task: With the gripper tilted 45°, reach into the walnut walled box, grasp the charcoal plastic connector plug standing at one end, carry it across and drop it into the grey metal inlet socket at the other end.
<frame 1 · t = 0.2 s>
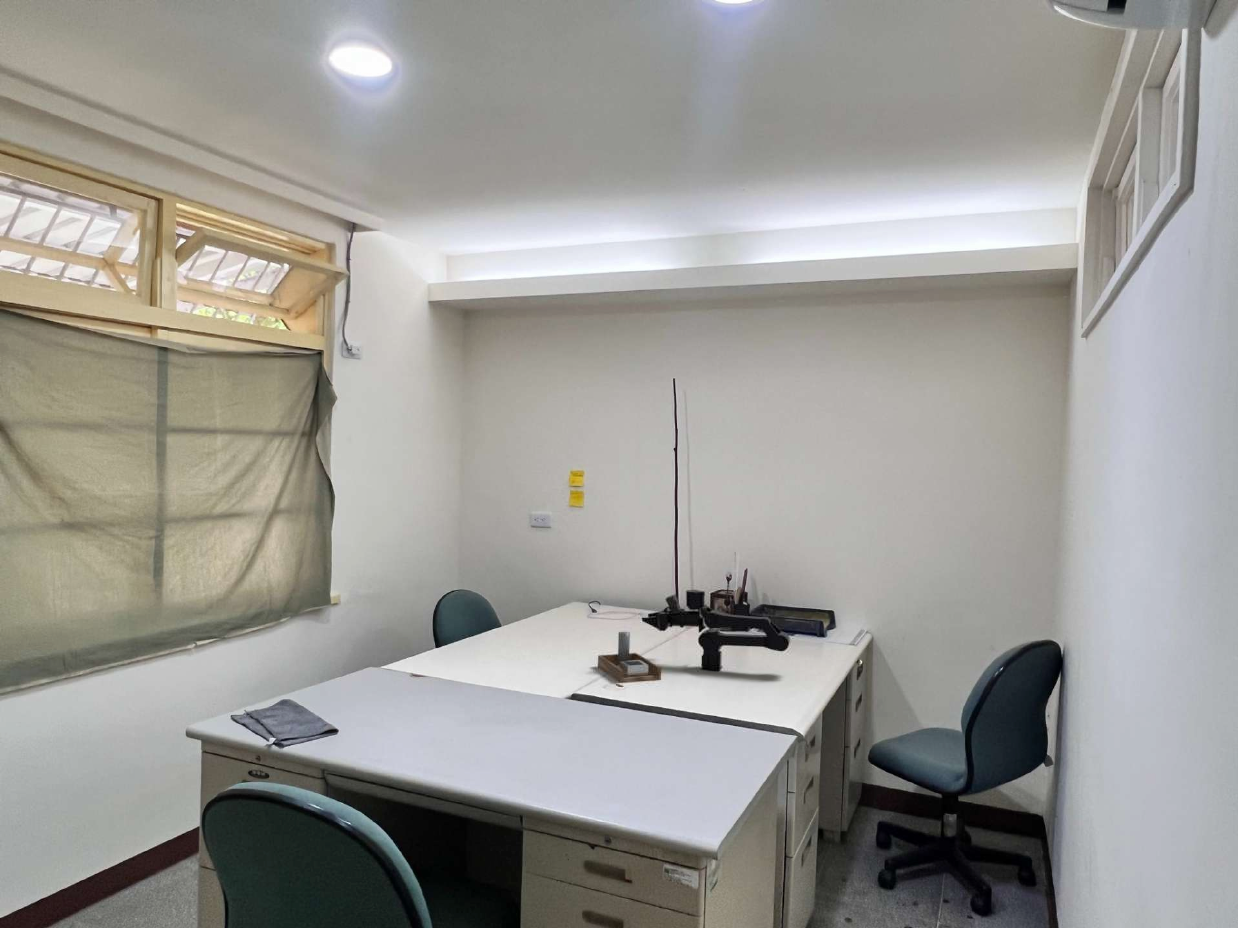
hand: (645, 617, 306), 16 cm above the table, fingers open, 9 cm apart
connector: (623, 669, 292), resting on box
box: (628, 674, 287), on the table
inlet: (633, 676, 283), resting on box
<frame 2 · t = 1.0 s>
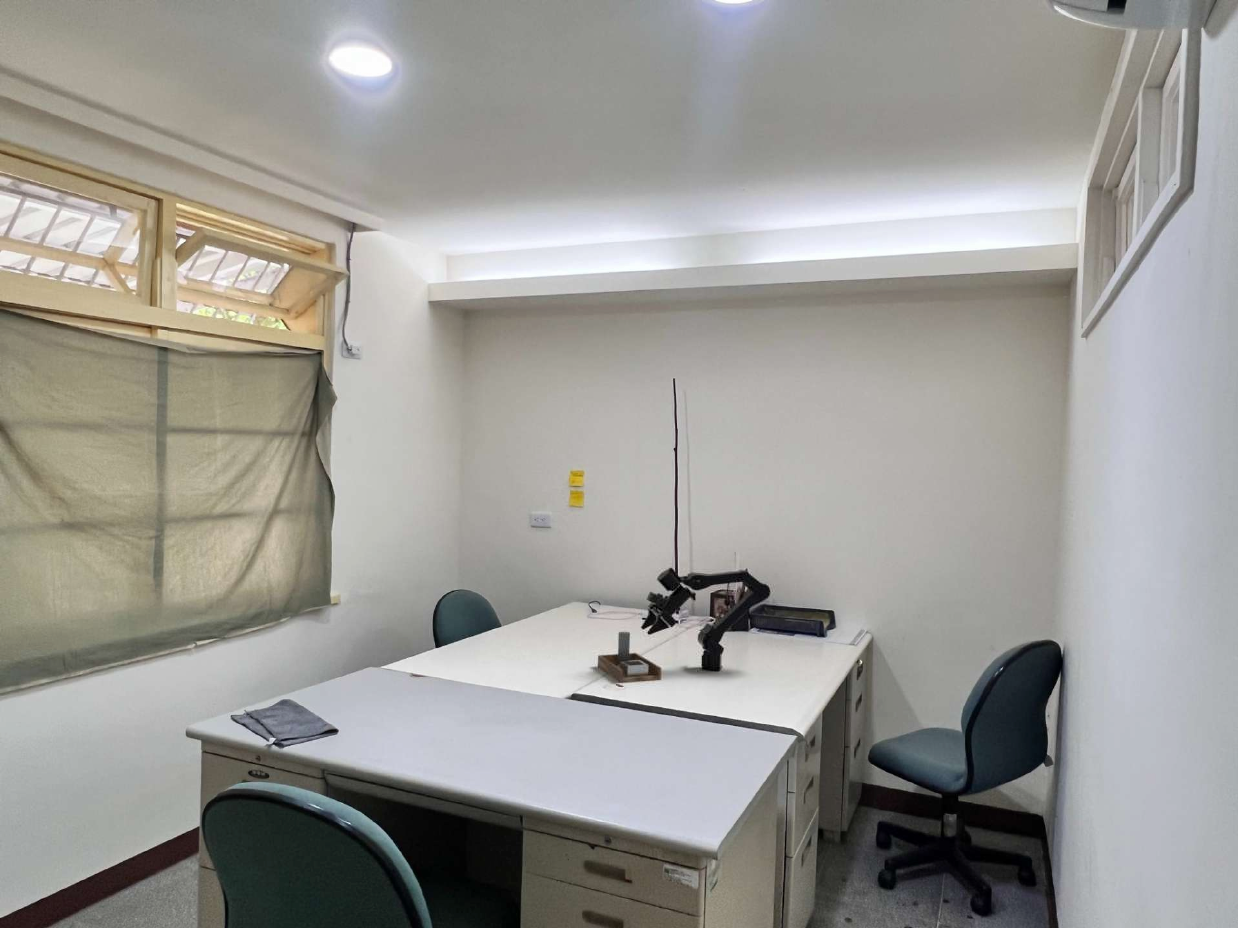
hand: (644, 631, 294), 14 cm above the table, fingers open, 9 cm apart
nothing on the table moved.
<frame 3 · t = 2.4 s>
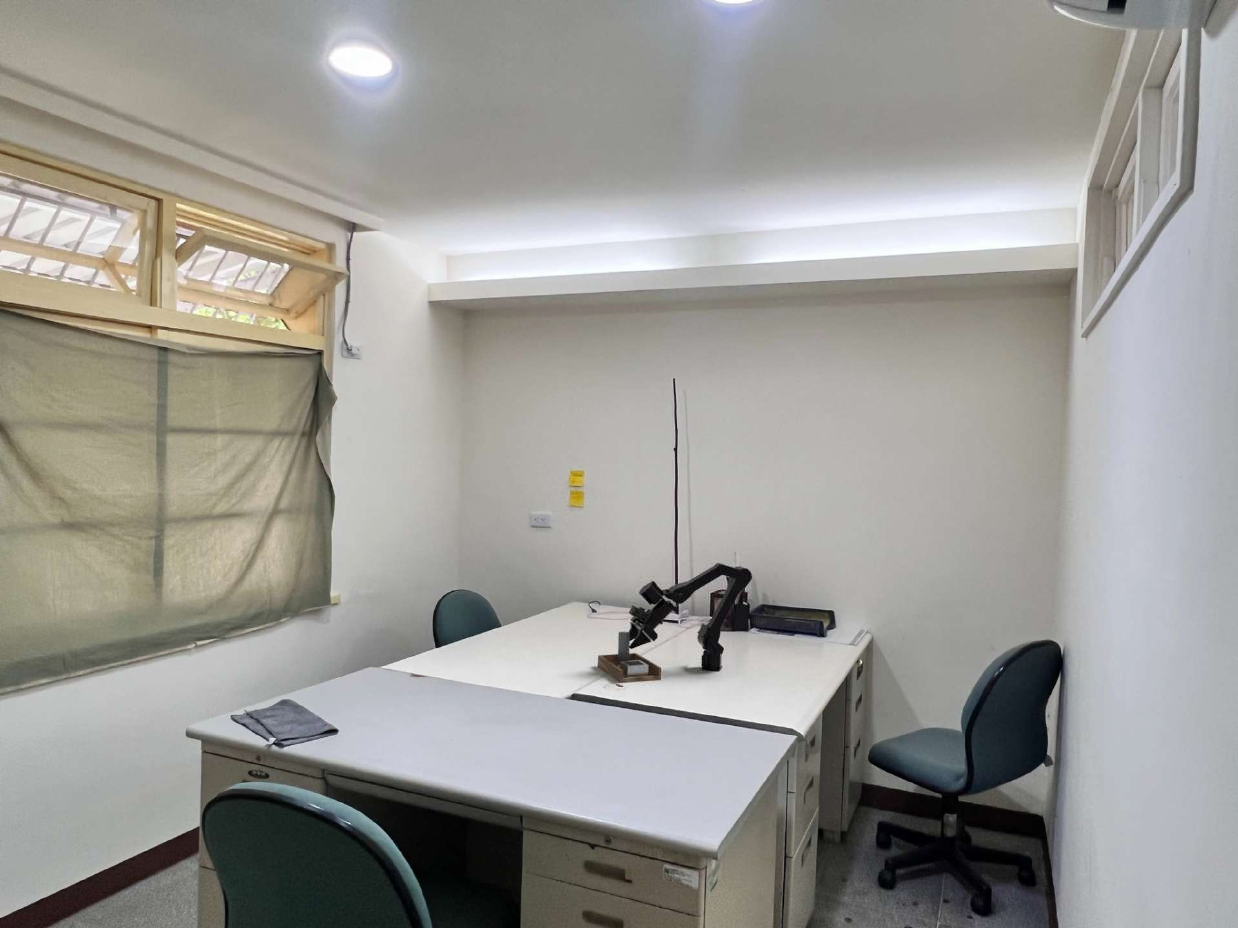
hand: (627, 645, 292), 9 cm above the table, fingers open, 9 cm apart
nothing on the table moved.
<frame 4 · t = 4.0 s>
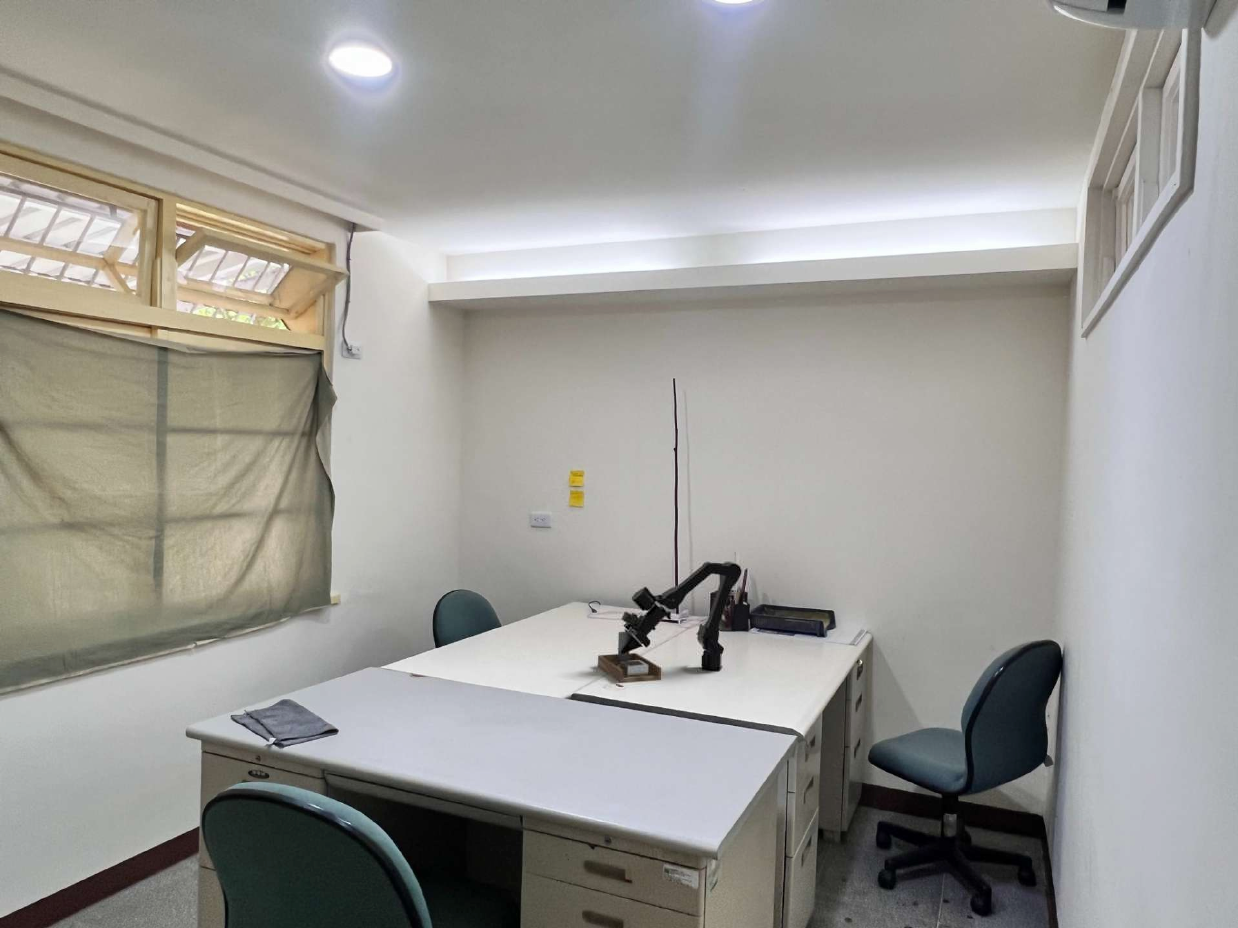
hand: (619, 651, 292), 7 cm above the table, fingers closed on connector, 4 cm apart
connector: (623, 669, 292), resting on box, touching gripper
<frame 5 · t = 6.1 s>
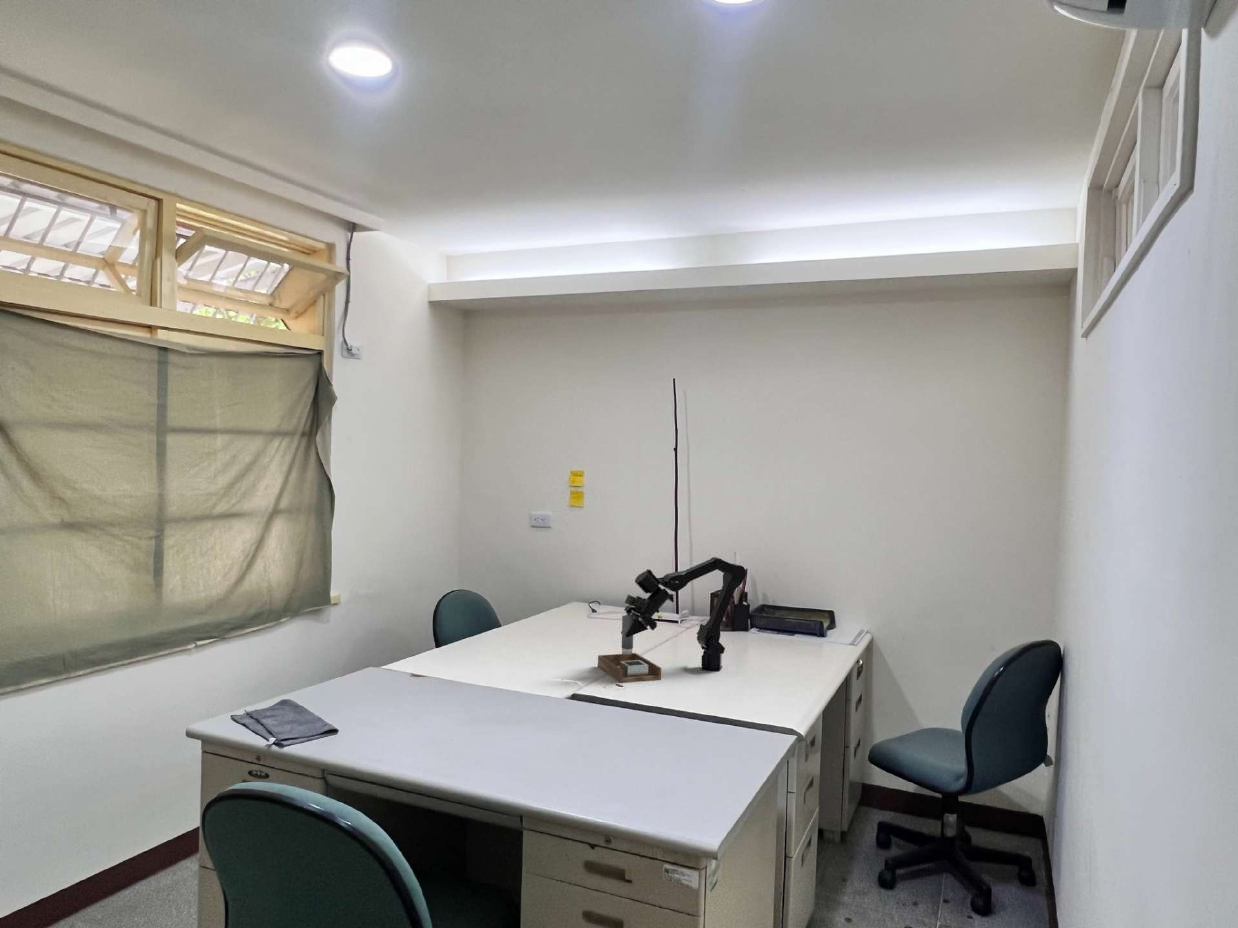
hand: (623, 635, 287), 14 cm above the table, fingers closed on connector, 4 cm apart
connector: (627, 653, 288), point 7 cm above the table, touching gripper
when the fingers open (8 cm above the table, at t = 8.4 s): connector stays where it is, resting on box.
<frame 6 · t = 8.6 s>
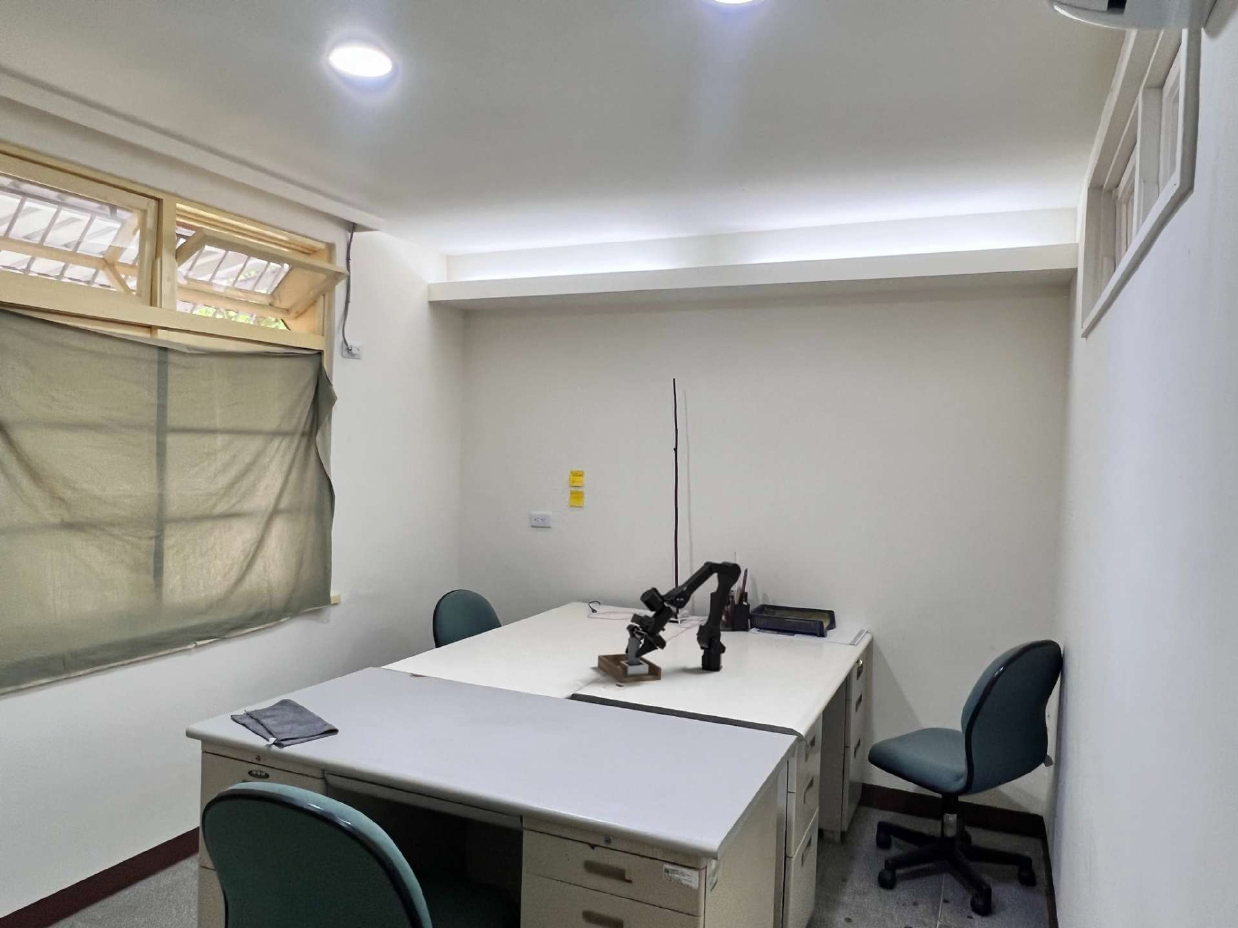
hand: (630, 655, 282), 8 cm above the table, fingers open, 6 cm apart
connector: (633, 676, 283), point 1 cm above the table, touching box
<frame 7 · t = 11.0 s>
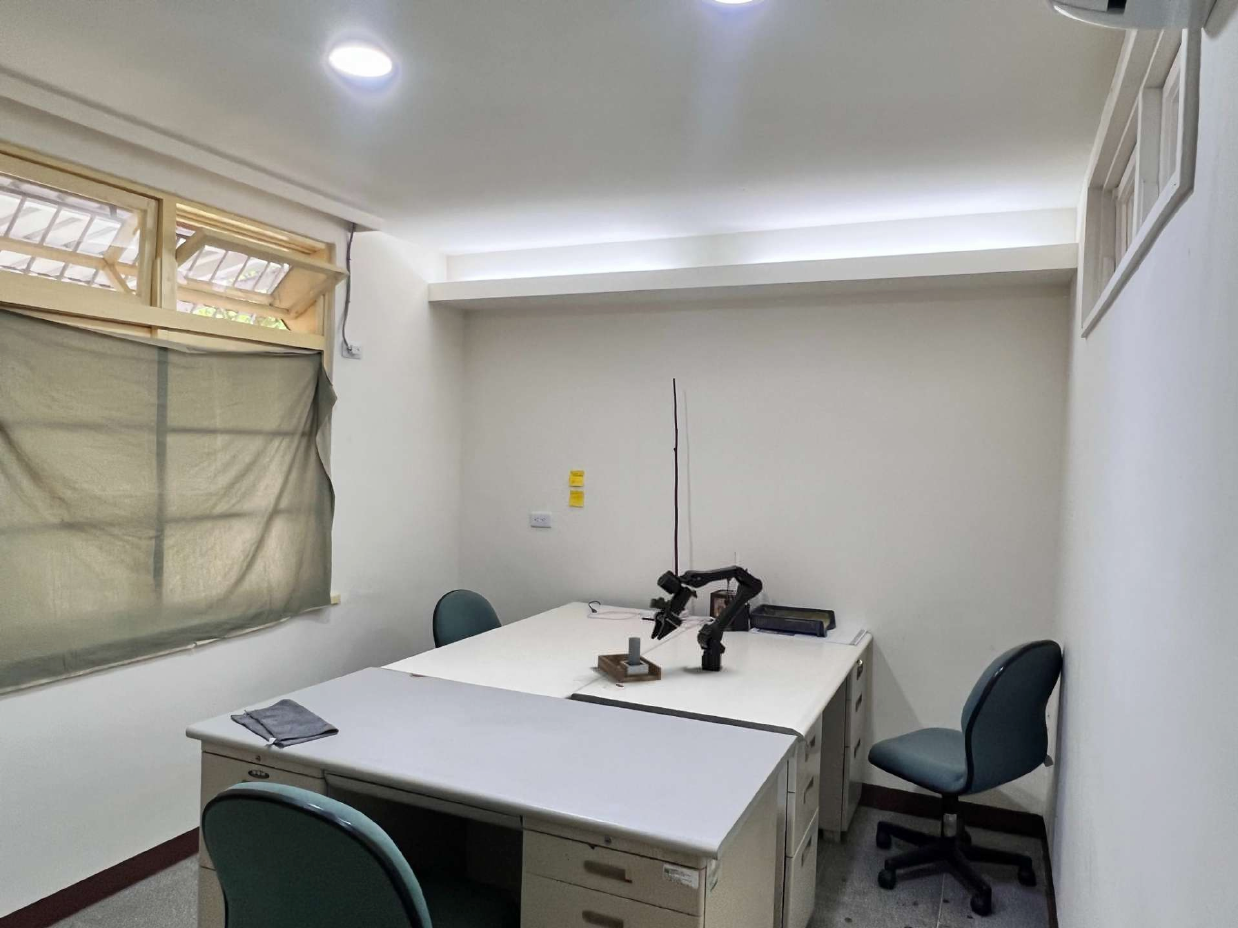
hand: (654, 639, 289), 12 cm above the table, fingers open, 9 cm apart
nothing on the table moved.
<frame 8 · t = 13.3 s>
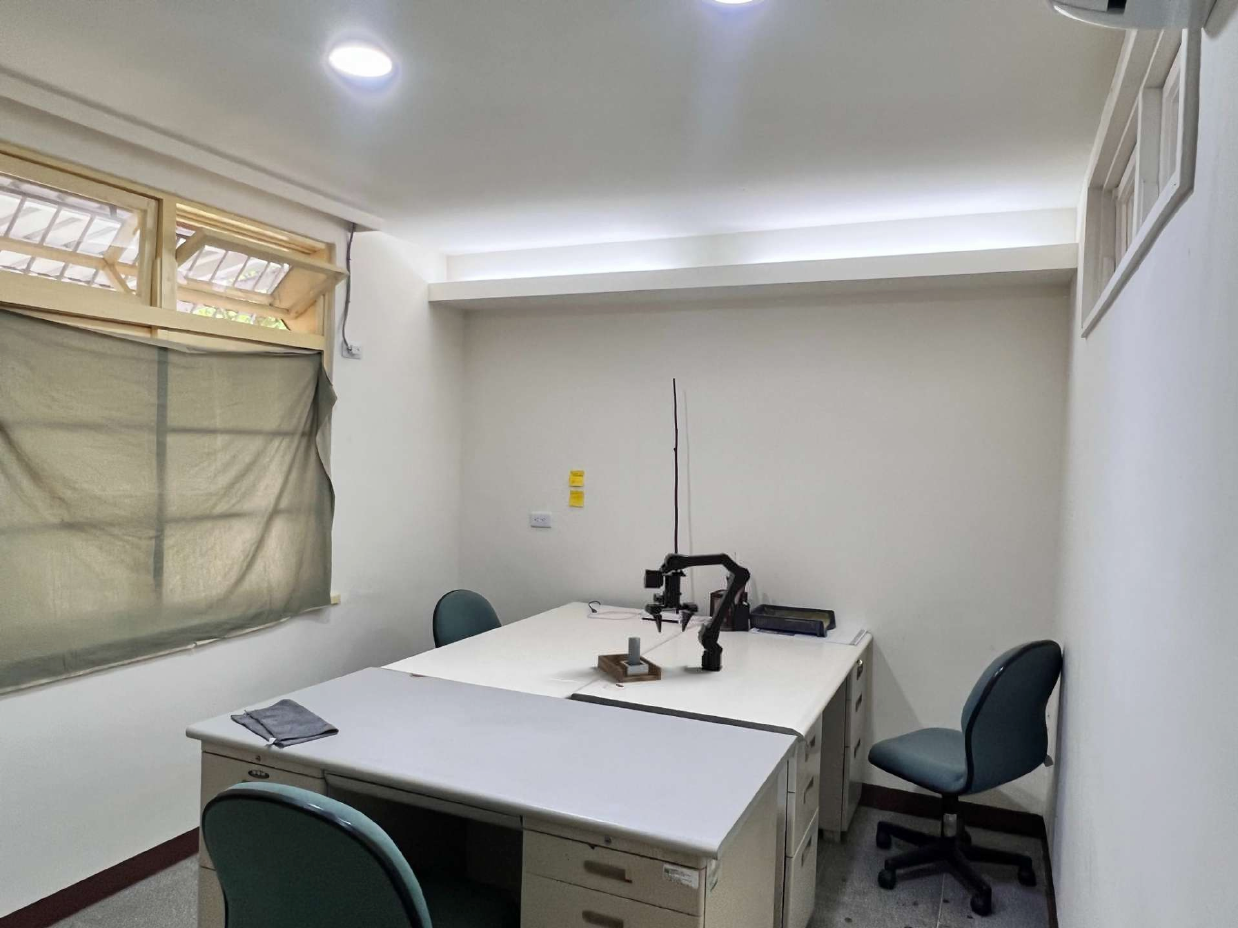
hand: (671, 631, 298), 13 cm above the table, fingers open, 9 cm apart
nothing on the table moved.
at the end: connector 0.0 cm from the inlet (horizontally); connector point 0.5 cm above the table; the gripper is holding nothing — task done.
